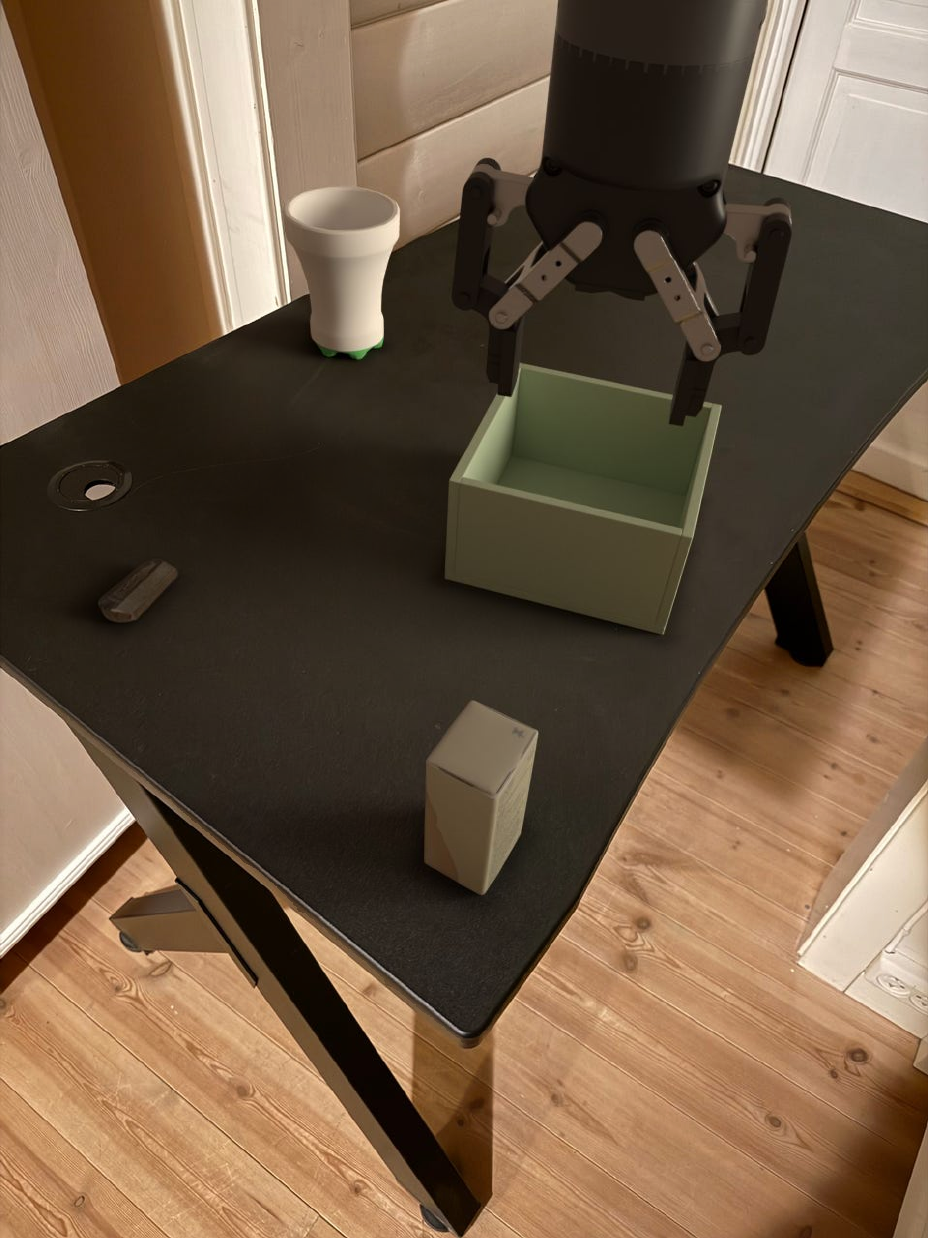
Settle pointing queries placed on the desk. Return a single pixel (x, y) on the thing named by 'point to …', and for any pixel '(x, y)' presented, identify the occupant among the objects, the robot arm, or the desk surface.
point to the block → (137, 591)
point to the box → (477, 795)
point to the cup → (343, 262)
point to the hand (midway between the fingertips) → (591, 402)
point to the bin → (580, 497)
